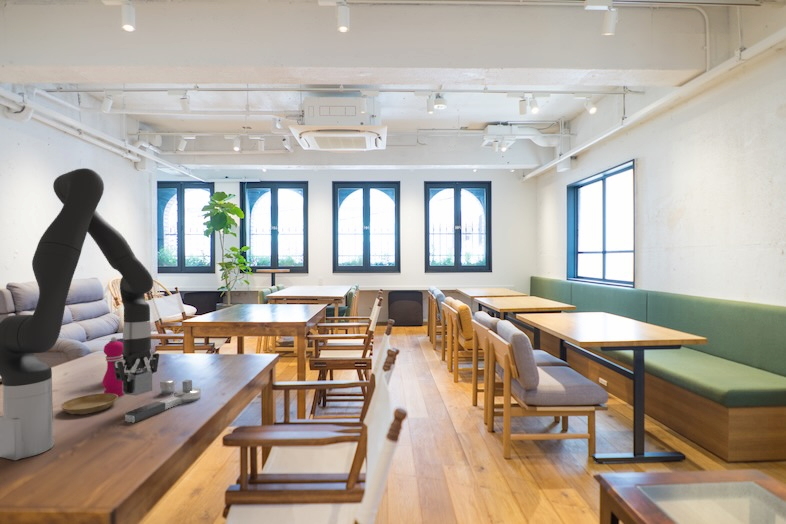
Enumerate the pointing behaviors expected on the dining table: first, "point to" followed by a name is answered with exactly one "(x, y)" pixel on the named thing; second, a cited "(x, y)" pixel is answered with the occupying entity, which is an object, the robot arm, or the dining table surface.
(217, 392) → the dining table surface
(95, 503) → the dining table surface
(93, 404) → the plant saucer
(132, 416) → the ratchet
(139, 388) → the socket
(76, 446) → the dining table surface
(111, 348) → the pepper mill
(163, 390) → the socket
